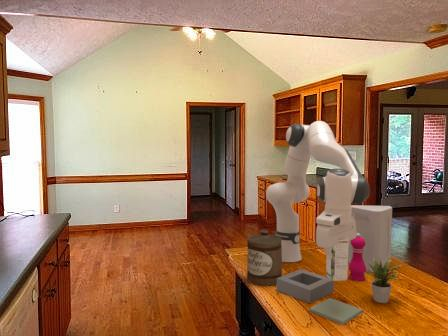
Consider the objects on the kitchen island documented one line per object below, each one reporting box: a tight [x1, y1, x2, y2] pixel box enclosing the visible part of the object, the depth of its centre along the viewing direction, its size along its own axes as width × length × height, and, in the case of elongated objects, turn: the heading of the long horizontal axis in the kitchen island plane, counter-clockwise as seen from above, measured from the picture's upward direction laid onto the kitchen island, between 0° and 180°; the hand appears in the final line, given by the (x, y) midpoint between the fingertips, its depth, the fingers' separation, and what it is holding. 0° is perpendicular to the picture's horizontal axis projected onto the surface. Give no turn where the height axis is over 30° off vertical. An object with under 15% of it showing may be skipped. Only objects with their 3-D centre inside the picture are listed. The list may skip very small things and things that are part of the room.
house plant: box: [364, 257, 402, 304], centre depth 139 cm, size 14×14×16 cm
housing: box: [276, 268, 335, 304], centre depth 149 cm, size 16×16×5 cm
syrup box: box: [325, 238, 349, 282], centre depth 130 cm, size 6×6×14 cm
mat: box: [308, 297, 364, 326], centre depth 131 cm, size 13×13×1 cm
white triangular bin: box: [348, 204, 393, 273], centre depth 177 cm, size 19×15×28 cm
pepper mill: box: [348, 233, 367, 282], centre depth 162 cm, size 7×7×20 cm
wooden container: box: [246, 228, 283, 287], centre depth 161 cm, size 15×15×22 cm
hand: (336, 255), depth 130 cm, fingers closed on syrup box, 8 cm apart
